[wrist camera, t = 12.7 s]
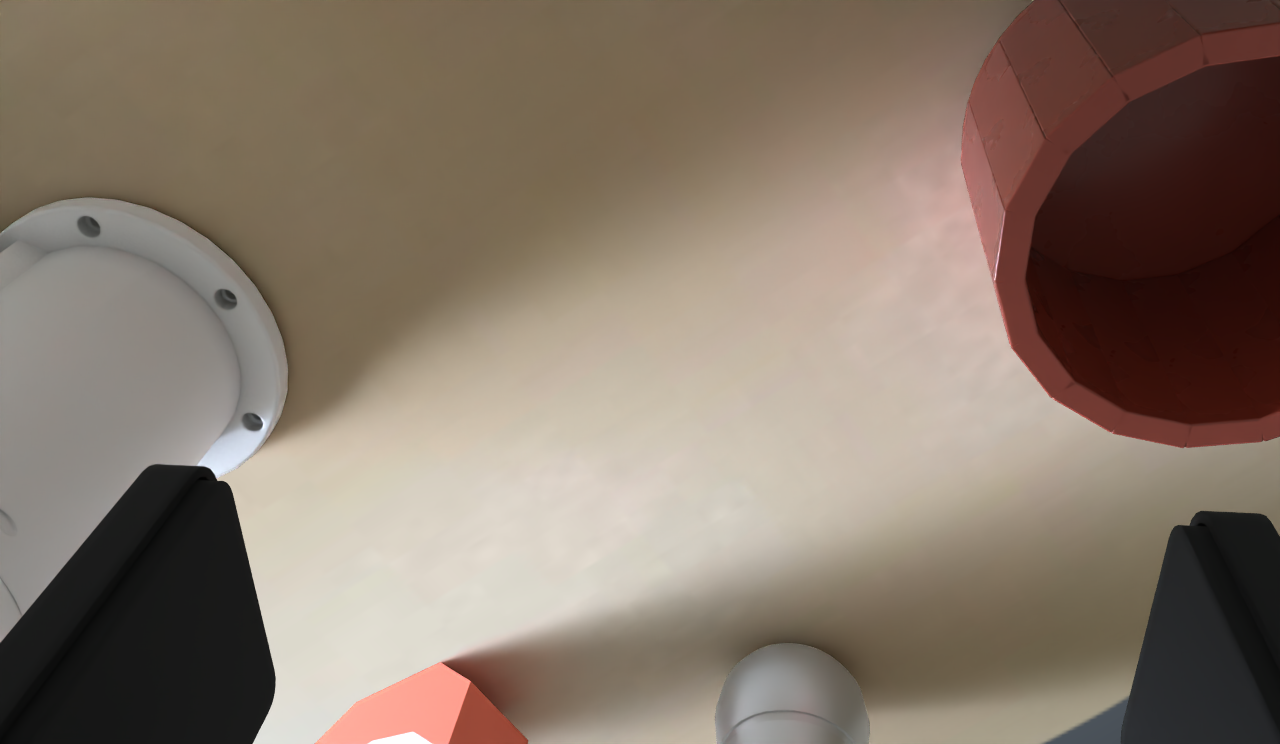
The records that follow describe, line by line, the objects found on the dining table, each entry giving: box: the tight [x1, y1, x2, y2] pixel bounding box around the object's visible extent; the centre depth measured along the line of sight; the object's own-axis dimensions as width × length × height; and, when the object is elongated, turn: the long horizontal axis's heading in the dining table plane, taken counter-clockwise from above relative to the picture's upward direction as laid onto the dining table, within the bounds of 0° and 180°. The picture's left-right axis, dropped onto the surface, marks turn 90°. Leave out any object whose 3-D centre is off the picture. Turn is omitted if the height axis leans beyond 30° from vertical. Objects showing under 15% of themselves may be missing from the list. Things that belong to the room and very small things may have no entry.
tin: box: [961, 0, 1280, 448], centre depth 34 cm, size 12×12×10 cm
